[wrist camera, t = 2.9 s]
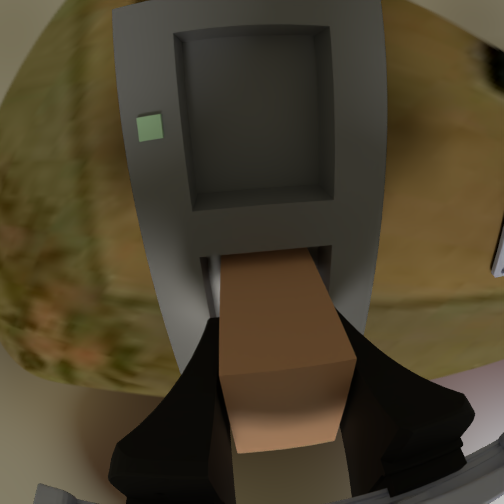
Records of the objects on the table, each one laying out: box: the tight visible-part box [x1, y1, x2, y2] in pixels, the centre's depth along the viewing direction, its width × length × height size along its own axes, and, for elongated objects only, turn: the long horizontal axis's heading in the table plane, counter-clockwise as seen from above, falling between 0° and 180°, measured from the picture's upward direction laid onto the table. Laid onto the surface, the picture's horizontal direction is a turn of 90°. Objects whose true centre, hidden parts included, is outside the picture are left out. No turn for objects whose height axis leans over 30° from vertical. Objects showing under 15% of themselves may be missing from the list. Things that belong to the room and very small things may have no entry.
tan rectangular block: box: [219, 247, 357, 453], centre depth 12 cm, size 4×5×7 cm
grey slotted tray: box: [112, 0, 387, 374], centre depth 12 cm, size 9×17×3 cm, turn 4°
